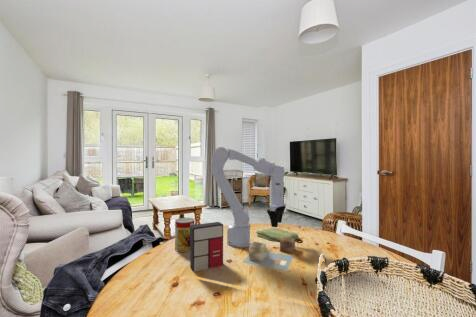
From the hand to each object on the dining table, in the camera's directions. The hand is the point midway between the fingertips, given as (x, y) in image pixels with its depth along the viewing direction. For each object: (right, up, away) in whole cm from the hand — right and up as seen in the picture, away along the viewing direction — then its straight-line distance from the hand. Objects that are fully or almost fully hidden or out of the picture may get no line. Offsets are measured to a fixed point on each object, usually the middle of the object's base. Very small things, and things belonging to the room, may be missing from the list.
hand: (276, 224), depth 101 cm
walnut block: (+3, -10, -6) cm, 12 cm away
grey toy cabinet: (-27, -9, -21) cm, 36 cm away
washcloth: (+2, -10, +12) cm, 16 cm away
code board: (-5, -9, -15) cm, 19 cm away
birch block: (-9, -8, -14) cm, 19 cm away
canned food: (-39, -10, -3) cm, 41 cm away
